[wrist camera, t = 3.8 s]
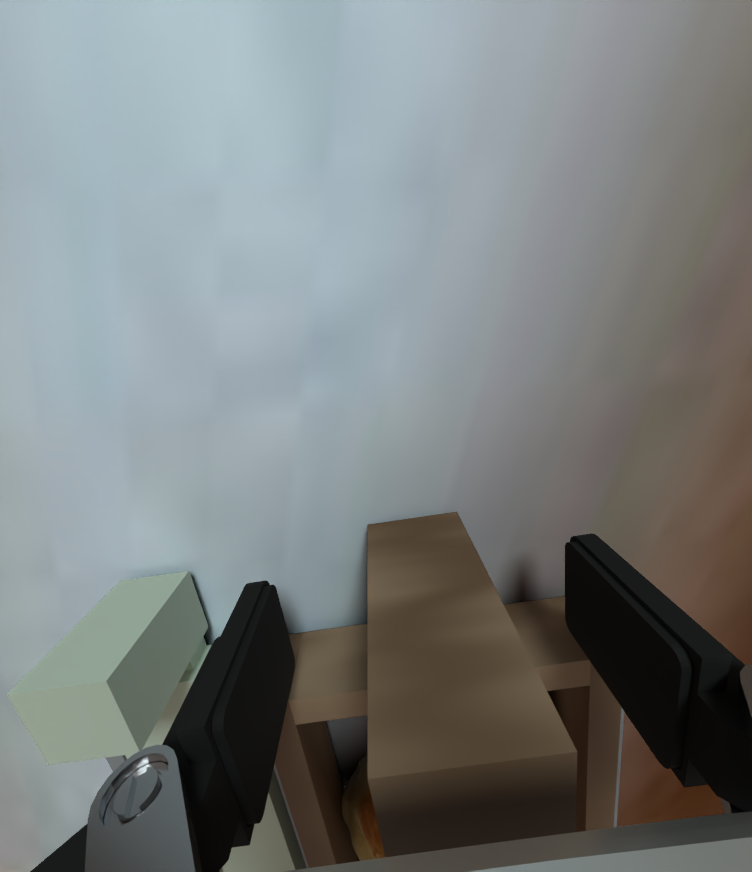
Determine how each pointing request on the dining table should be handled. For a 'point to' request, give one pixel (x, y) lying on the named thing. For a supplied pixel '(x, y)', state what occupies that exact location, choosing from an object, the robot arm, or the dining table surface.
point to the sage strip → (136, 694)
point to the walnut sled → (448, 708)
